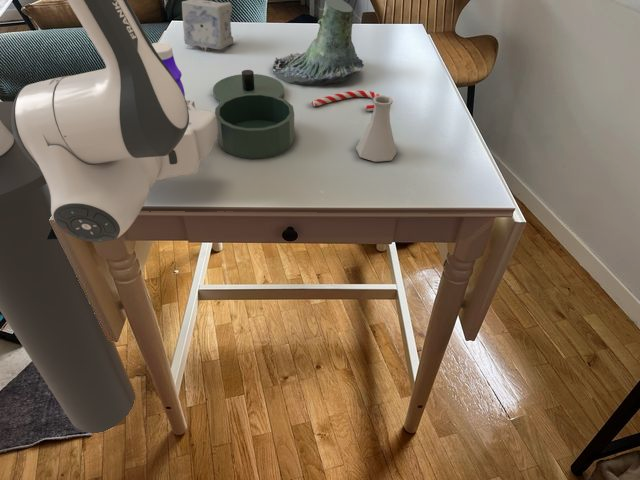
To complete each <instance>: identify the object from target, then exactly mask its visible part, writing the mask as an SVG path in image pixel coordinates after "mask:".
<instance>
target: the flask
mask: <svg viewBox="0 0 640 480" xmlns="http://www.w3.org/2000/svg"><path fill="white" fill-rule="evenodd" d="M379 95H380V96H375V97H374V98H373V99H372V102H373V105H374V111H372V114H371V116H370V117H371V118H370V120H369V122H368V124H367V126H366V128H365V130H364V132H363V134H362V136H361V138H360V140H359V141H358V144H356V147H355V150H356V152H357V154H358V156H359V158H361V159H365V160H368V161H372V162H374V163H377V162H390V161H392V160H393V158H394V157H395V156H396V155H397V147H396V144H395V139H394V135H393V130H392V125H391V116H390V115H391V114H390V113H391V112H390V111H391V105H392V104H393V102H394V101H393V98H392V97H391V96H388V95H383V94H379Z"/></svg>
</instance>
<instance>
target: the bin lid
mask: <svg viewBox="0 0 640 480" xmlns="http://www.w3.org/2000/svg"><path fill="white" fill-rule="evenodd" d="M212 93H213V97H214V98H215V99H216V100H217V101H218V102H220V103H221V102H222V101H224V100H226V99H228V98H230V97H232V96H237V95H242V94H247V93H263V94H269V95H275V96H278V97H280V98H283V96H284V94H285V86H284V85H283V83H282V82H281V81H279V79H277V78H274V77H273V76H269V75H265V74H258V73H254V70H252V69H244V70H241V74H235V75H231V76H228V77H225V78H222V79H220V80H218V81H217V82H216V83H215V84H214V85H213V87H212Z"/></svg>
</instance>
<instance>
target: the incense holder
mask: <svg viewBox="0 0 640 480" xmlns="http://www.w3.org/2000/svg"><path fill="white" fill-rule="evenodd" d="M181 12H182V14H181V15H182V27H183V41H184V44H185V45H188V46H195V47H196V46H197V47H200V48H201V49H202V51H203V52H206V51H208V49H214V50H223V49H224V48H227V47H229V46H231V45H234V37H233V36H232V28H231V25H232V24H231V23H232V22H231V15H232V13H233V5H232V3H231V2H229V1H226V2H218V1H212V0H183V1H181Z"/></svg>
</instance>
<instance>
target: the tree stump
mask: <svg viewBox="0 0 640 480" xmlns="http://www.w3.org/2000/svg"><path fill="white" fill-rule="evenodd" d="M353 18H354V8H353V7H352V6H351V4H349V3H348V2H346V1H344V0H325V1H324V7H323V12H322V17H321V18H320V19H318V20H317V24H318V25H319V28H318V31H317V35H316V38H315V39H313V40H312V42H311V43H310V44H309V46H308V48H306V50H305V51H304V52H302V53H294V54H292V53H291V54H290V55H288V56H284V57H281V58H278V57H275V60H274V64H273V65H272V71H273V74H274V75H275V76H276V77H277V78H278V79H281V80H282V81H284V82H286V83H288V84H293V85H298V86H316V85H317V86H322V85H329V84H335V83H343V81H345V80H347V78H350V77H351V76H353V75H355V74H358V73H359V72H360V71H361V70H362V69H363V67H364V66H365V64H364V63H363V60H362V59H361V58H360V57H359V56H358V54H357V52H356V48H355V46H354V42H353V41H352V40H353V39H352V38H353V37H352V35H353V33H352V32H353V31H352V30H353V25H354V21H353Z"/></svg>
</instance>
